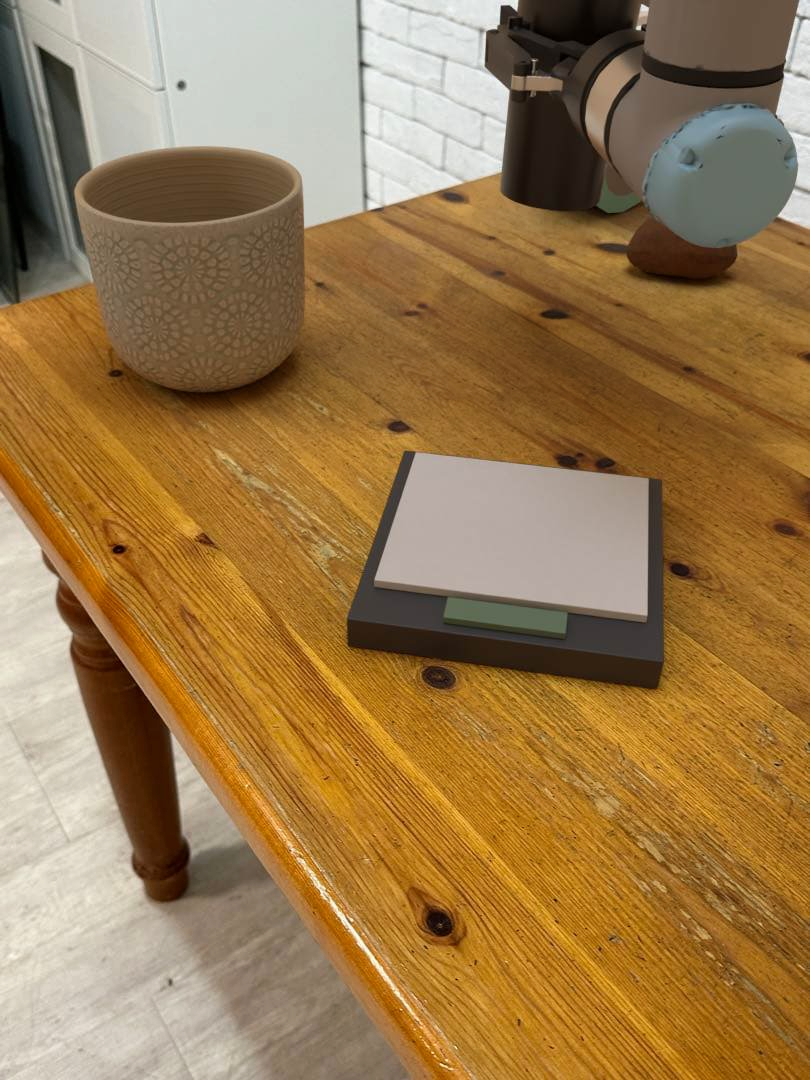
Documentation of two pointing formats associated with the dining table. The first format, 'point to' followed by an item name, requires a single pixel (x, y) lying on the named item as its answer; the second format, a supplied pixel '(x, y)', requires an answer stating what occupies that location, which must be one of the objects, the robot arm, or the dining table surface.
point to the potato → (675, 253)
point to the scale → (517, 569)
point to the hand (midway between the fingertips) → (543, 22)
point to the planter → (197, 262)
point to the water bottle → (558, 114)
